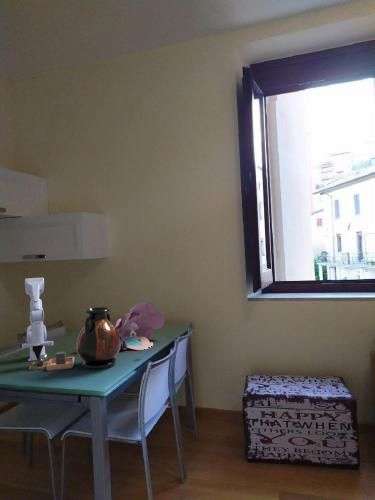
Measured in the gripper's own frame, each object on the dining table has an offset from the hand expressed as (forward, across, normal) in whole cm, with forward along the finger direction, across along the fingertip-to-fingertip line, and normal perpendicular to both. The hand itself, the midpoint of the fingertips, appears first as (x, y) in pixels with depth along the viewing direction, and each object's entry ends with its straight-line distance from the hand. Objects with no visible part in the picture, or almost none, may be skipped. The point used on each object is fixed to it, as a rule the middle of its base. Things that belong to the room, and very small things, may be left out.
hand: (38, 360), depth 175 cm
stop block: (+2, +11, -4) cm, 12 cm away
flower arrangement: (+3, +51, +21) cm, 55 cm away
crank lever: (+1, +1, +1) cm, 2 cm away
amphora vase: (+3, +30, -9) cm, 32 cm away
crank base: (+3, 0, 0) cm, 3 cm away
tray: (+3, +11, -4) cm, 12 cm away
